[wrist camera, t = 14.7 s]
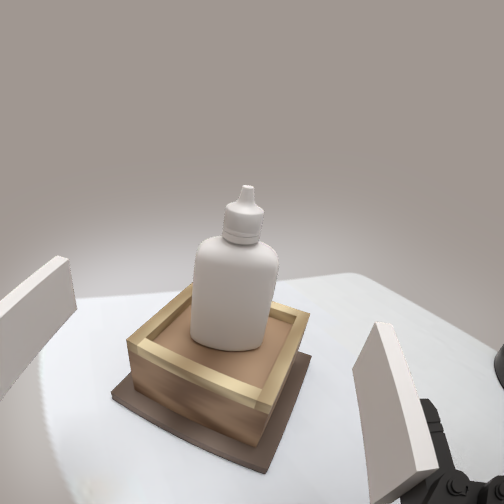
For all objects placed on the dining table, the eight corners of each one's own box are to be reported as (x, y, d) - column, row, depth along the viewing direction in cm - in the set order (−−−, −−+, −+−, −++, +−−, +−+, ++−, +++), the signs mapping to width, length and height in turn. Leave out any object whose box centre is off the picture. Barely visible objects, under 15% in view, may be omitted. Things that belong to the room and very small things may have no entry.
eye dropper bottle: (212, 310, 26) (228, 173, 21) (269, 337, 24) (303, 193, 19) (181, 335, 23) (189, 181, 18) (243, 369, 21) (275, 206, 16)
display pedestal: (309, 362, 30) (328, 310, 27) (265, 474, 18) (287, 431, 15) (191, 318, 34) (194, 265, 31) (112, 398, 22) (98, 341, 19)
